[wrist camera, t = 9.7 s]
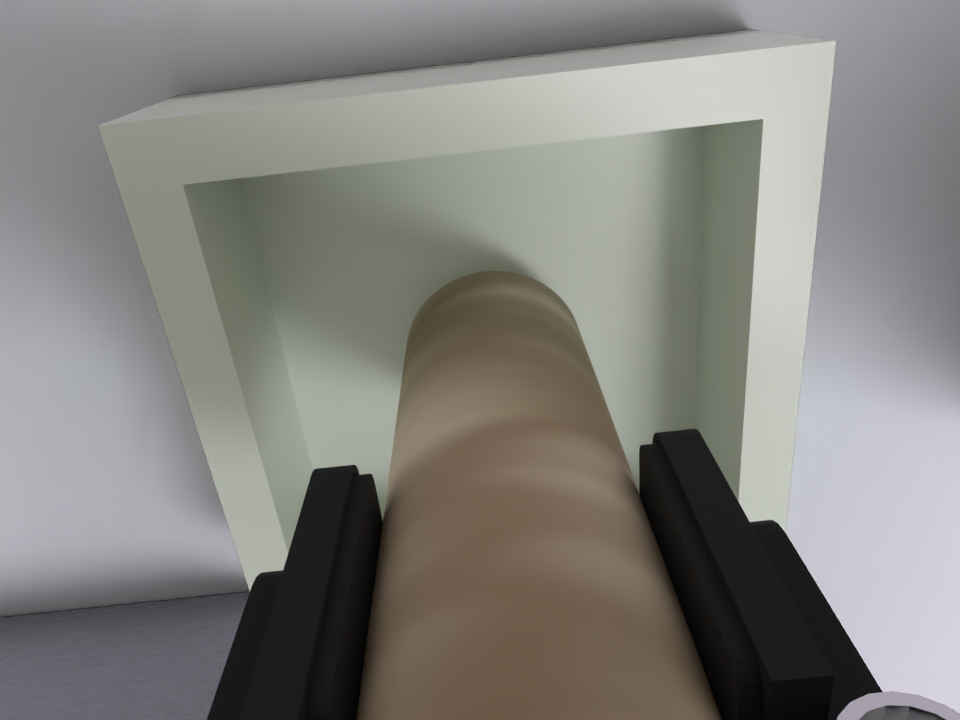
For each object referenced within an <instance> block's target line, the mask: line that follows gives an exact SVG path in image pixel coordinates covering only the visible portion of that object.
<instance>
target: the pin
mask: <svg viewBox="0 0 960 720" xmlns="http://www.w3.org/2000/svg"><path fill="white" fill-rule="evenodd" d="M356 720H722V717H721V714H720V712H719V709H718V706H717V704H716V701H715V698H714V695H713V693H712V690H711V687H710V685H709V682H708V679H707V676H706V674H705V671H704V668H703V665H702V663H701V660H700V657H699V655H698V652H697V649H696V646H695V644H694V641H693V638H692V636H691V633H690V630H689V627H688V625H687V622H686V619H685V617H684V614H683V611H682V608H681V606H680V603H679V600H678V598H677V595H676V592H675V589H674V587H673V584H672V581H671V578H670V576H669V573H668V570H667V568H666V565H665V562H664V559H663V557H662V554H661V551H660V549H659V546H658V543H657V540H656V538H655V535H654V532H653V530H652V527H651V524H650V521H649V519H648V516H647V513H646V511H645V508H644V505H643V502H642V500H641V497H640V494H639V491H638V488H637V486H636V483H635V480H634V477H633V475H632V472H631V469H630V467H629V464H628V461H627V458H626V456H625V453H624V450H623V448H622V445H621V442H620V439H619V437H618V434H617V431H616V429H615V426H614V423H613V420H612V418H611V415H610V412H609V410H608V407H607V404H606V401H605V399H604V396H603V393H602V391H601V388H600V385H599V382H598V380H597V377H596V374H595V372H594V369H593V366H592V363H591V361H590V358H589V355H588V353H587V350H586V347H585V344H584V342H583V339H582V336H581V334H580V331H579V328H578V325H577V323H576V321H575V318H574V316H573V314H572V312H571V311H570V309H569V308H568V306H567V305H566V303H565V302H564V301H563V300H562V299H561V298H560V297H559V296H558V295H557V294H556V293H555V292H554V291H553V290H552V289H550V288H549V287H547V286H546V285H544V284H543V283H541V282H539V281H537V280H535V279H533V278H530V277H527V276H524V275H521V274H517V273H512V272H504V271H485V272H479V273H474V274H470V275H467V276H464V277H461V278H459V279H456V280H454V281H452V282H450V283H448V284H447V285H445V286H443V287H442V288H440V289H439V290H438V291H437V292H435V293H434V294H433V295H432V296H431V297H430V298H429V299H428V300H427V301H426V302H425V303H424V304H423V306H422V307H421V308H420V310H419V311H418V313H417V315H416V316H415V318H414V320H413V322H412V325H411V328H410V331H409V334H408V339H407V345H406V352H405V360H404V367H403V374H402V382H401V389H400V397H399V404H398V411H397V419H396V426H395V434H394V441H393V448H392V456H391V463H390V471H389V478H388V485H387V493H386V500H385V508H384V515H383V523H382V531H381V538H380V546H379V553H378V561H377V568H376V575H375V583H374V590H373V598H372V605H371V613H370V620H369V627H368V635H367V642H366V650H365V657H364V665H363V672H362V679H361V687H360V694H359V702H358V709H357V717H356Z"/></svg>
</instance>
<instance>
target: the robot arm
mask: <svg viewBox="0 0 960 720" xmlns="http://www.w3.org/2000/svg"><path fill="white" fill-rule="evenodd" d="M639 492H640V497H641V500H642V502H643V505H644V508H645V511H646V513H647V516H648V519H649V521H650V524H651V527H652V530H653V532H654V535H655V538H656V540H657V543H658V546H659V549H660V551H661V554H662V557H663V559H664V562H665V565H666V568H667V570H668V573H669V576H670V578H671V581H672V584H673V587H674V589H675V592H676V595H677V598H678V600H679V603H680V606H681V608H682V611H683V614H684V617H685V619H686V622H687V625H688V627H689V630H690V633H691V636H692V638H693V641H694V644H695V646H696V649H697V652H698V655H699V657H700V660H701V663H702V665H703V668H704V671H705V674H706V676H707V679H708V682H709V685H710V687H711V690H712V693H713V695H714V698H715V701H716V704H717V706H718V709H719V712H720V714H721V717H722V720H960V714H959V713H958V712H956V711H954V710H953V709H951V708H949V707H948V706H946V705H944V704H941V703H938V702H935V701H933V700H930V699H927V698H924V697H922V696H919V695H914V694H907V693H900V692H893V691H890V692H882V690H881V689H880V687H879V686H878V684H877V682H876V681H875V679H874V677H873V676H872V674H871V672H870V671H869V669H868V668H867V666H866V664H865V663H864V661H863V659H862V658H861V656H860V654H859V653H858V651H857V649H856V648H855V646H854V645H853V643H852V641H851V640H850V638H849V636H848V635H847V633H846V631H845V630H844V628H843V627H842V625H841V623H840V622H839V620H838V618H837V617H836V615H835V613H834V612H833V610H832V609H831V607H830V605H829V604H828V602H827V600H826V599H825V597H824V595H823V594H822V592H821V591H820V589H819V587H818V586H817V584H816V582H815V581H814V579H813V577H812V576H811V574H810V572H809V571H808V569H807V568H806V566H805V564H804V563H803V561H802V559H801V558H800V556H799V554H798V553H797V551H796V550H795V548H794V546H793V545H792V543H791V541H790V540H789V538H788V536H787V535H786V533H785V532H784V530H783V529H782V528H781V526H780V525H779V524H778V523H777V522H775V521H773V520H765V521H755V522H749V520H748V518H747V516H746V514H745V513H744V511H743V509H742V507H741V505H740V504H739V502H738V500H737V498H736V496H735V495H734V493H733V491H732V489H731V487H730V486H729V484H728V482H727V480H726V478H725V477H724V475H723V473H722V471H721V469H720V468H719V466H718V464H717V462H716V460H715V459H714V457H713V455H712V453H711V451H710V450H709V448H708V446H707V444H706V442H705V441H704V439H703V437H702V435H701V433H700V432H699V431H698V429H686V430H676V431H667V432H657V433H655V434H654V436H653V442H652V444H646V445H641V446H640V449H639ZM382 523H383V520H382V515H381V510H380V506H379V501H378V496H377V491H376V486H375V482H374V478H373V476H372V474H362V475H360V474H359V471H358V468H357V466H356V465H346V466H336V467H327V468H317V469H314V470H313V472H312V474H311V477H310V481H309V484H308V488H307V491H306V494H305V498H304V501H303V505H302V508H301V511H300V515H299V518H298V522H297V525H296V528H295V532H294V535H293V539H292V542H291V545H290V549H289V552H288V556H287V559H286V562H285V566H284V569H283V570H281V571H271V572H262V573H260V574H259V575H258V576H257V577H256V578H255V581H254V583H253V585H252V587H251V590H250V593H249V596H248V599H247V602H246V605H245V608H244V611H243V614H242V617H241V620H240V623H239V626H238V629H237V632H236V634H235V637H234V640H233V643H232V646H231V649H230V652H229V655H228V658H227V661H226V664H225V667H224V670H223V673H222V676H221V679H220V682H219V685H218V688H217V691H216V694H215V696H214V699H213V702H212V705H211V708H210V711H209V714H208V717H207V720H356V717H357V709H358V702H359V694H360V687H361V679H362V672H363V665H364V657H365V650H366V642H367V635H368V627H369V620H370V613H371V605H372V598H373V590H374V583H375V575H376V568H377V561H378V553H379V546H380V538H381V531H382Z"/></svg>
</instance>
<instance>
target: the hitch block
mask: <svg viewBox="0 0 960 720" xmlns="http://www.w3.org/2000/svg"><path fill="white" fill-rule="evenodd" d="M249 593H250V592H243V593H234V594H224V595H214V596H205V597H195V598H185V599H175V600H166V601H156V602H146V603H137V604H127V605H117V606H107V607H98V608H88V609H78V610H69V611H59V612H49V613H39V614H30V615H20V616H10V617H1V618H0V720H207V717H208V714H209V711H210V708H211V705H212V702H213V699H214V696H215V694H216V691H217V688H218V685H219V682H220V679H221V676H222V673H223V670H224V667H225V664H226V661H227V658H228V655H229V652H230V649H231V646H232V643H233V640H234V637H235V634H236V632H237V629H238V626H239V623H240V620H241V617H242V614H243V611H244V608H245V605H246V602H247V599H248V596H249Z"/></svg>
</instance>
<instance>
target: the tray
mask: <svg viewBox="0 0 960 720" xmlns="http://www.w3.org/2000/svg"><path fill="white" fill-rule="evenodd" d="M835 49H836V41H835V40H828V39H820V38H812V37H805V36H797V35H790V34H782V33H774V32H767V31H759V30H751V29H749V30H741V31H732V32H724V33H715V34H706V35H698V36H689V37H680V38H672V39H663V40H654V41H646V42H637V43H628V44H620V45H611V46H602V47H594V48H585V49H577V50H568V51H559V52H551V53H542V54H533V55H525V56H516V57H507V58H499V59H490V60H481V61H473V62H464V63H455V64H447V65H438V66H430V67H421V68H412V69H404V70H395V71H386V72H378V73H369V74H360V75H352V76H343V77H334V78H326V79H317V80H308V81H300V82H291V83H283V84H274V85H265V86H257V87H248V88H239V89H231V90H222V91H213V92H205V93H196V94H187V95H179V96H174V97H172V98H169V99H167V100H164V101H161V102H159V103H156V104H153V105H151V106H148V107H145V108H143V109H140V110H138V111H135V112H132V113H130V114H127V115H124V116H122V117H119V118H117V119H114V120H111V121H109V122H106V123H103V124H101V125H98V128H99V131H100V134H101V138H102V141H103V144H104V147H105V150H106V153H107V156H108V159H109V162H110V165H111V168H112V171H113V174H114V177H115V180H116V183H117V187H118V190H119V193H120V196H121V199H122V202H123V205H124V208H125V211H126V214H127V217H128V220H129V223H130V226H131V229H132V232H133V236H134V239H135V242H136V245H137V248H138V251H139V254H140V257H141V260H142V263H143V266H144V269H145V272H146V275H147V278H148V281H149V285H150V288H151V291H152V294H153V297H154V300H155V303H156V306H157V309H158V312H159V315H160V318H161V321H162V324H163V327H164V331H165V334H166V337H167V340H168V343H169V346H170V349H171V352H172V355H173V358H174V361H175V364H176V367H177V370H178V373H179V376H180V380H181V383H182V386H183V389H184V392H185V395H186V398H187V401H188V404H189V407H190V410H191V413H192V416H193V419H194V422H195V425H196V429H197V432H198V435H199V438H200V441H201V444H202V447H203V450H204V453H205V456H206V459H207V462H208V465H209V468H210V471H211V474H212V478H213V481H214V484H215V487H216V490H217V493H218V496H219V499H220V502H221V505H222V508H223V511H224V514H225V517H226V520H227V523H228V527H229V530H230V533H231V536H232V539H233V542H234V545H235V548H236V551H237V554H238V557H239V560H240V563H241V566H242V569H243V572H244V576H245V579H246V582H247V585H248V588H249V591H250V590H251V587H252V585H253V583H254V581H255V578H256V577H257V576H258V575H259V574H260V573H262V572H271V571H281V570H283V569H284V566H285V562H286V559H287V556H288V552H289V549H290V545H291V542H292V539H293V535H294V532H295V528H296V525H297V522H298V518H299V515H300V511H301V508H302V505H303V501H304V498H305V494H306V491H307V488H308V484H309V481H310V477H311V474H312V472H313V470H314V469H317V468H327V467H336V466H346V465H356V466H357V468H358V471H359V474H360V475H362V474H372V476H373V478H374V482H375V486H376V491H377V496H378V501H379V506H380V510H381V515H382V520H383V515H384V508H385V500H386V493H387V485H388V478H389V471H390V463H391V456H392V448H393V441H394V434H395V426H396V419H397V411H398V404H399V397H400V389H401V382H402V374H403V367H404V360H405V352H406V345H407V339H408V334H409V331H410V328H411V325H412V322H413V320H414V318H415V316H416V315H417V313H418V311H419V310H420V308H421V307H422V306H423V304H424V303H425V302H426V301H427V300H428V299H429V298H430V297H431V296H432V295H433V294H434V293H435V292H437V291H438V290H439V289H440V288H442V287H443V286H445V285H447V284H448V283H450V282H452V281H454V280H456V279H459V278H461V277H464V276H467V275H470V274H474V273H479V272H485V271H504V272H512V273H517V274H521V275H524V276H527V277H530V278H533V279H535V280H537V281H539V282H541V283H543V284H544V285H546V286H547V287H549V288H550V289H552V290H553V291H554V292H555V293H556V294H557V295H558V296H559V297H560V298H561V299H562V300H563V301H564V302H565V303H566V305H567V306H568V308H569V309H570V311H571V312H572V314H573V316H574V318H575V321H576V323H577V325H578V328H579V331H580V334H581V336H582V339H583V342H584V344H585V347H586V350H587V353H588V355H589V358H590V361H591V363H592V366H593V369H594V372H595V374H596V377H597V380H598V382H599V385H600V388H601V391H602V393H603V396H604V399H605V401H606V404H607V407H608V410H609V412H610V415H611V418H612V420H613V423H614V426H615V429H616V431H617V434H618V437H619V439H620V442H621V445H622V448H623V450H624V453H625V456H626V458H627V461H628V464H629V467H630V469H631V472H632V475H633V477H634V480H635V483H636V486H637V488H638V491H639V449H640V446H641V445H646V444H652V442H653V436H654V434H655V433H657V432H667V431H676V430H686V429H698V431H699V432H700V433H701V435H702V437H703V439H704V441H705V442H706V444H707V446H708V448H709V450H710V451H711V453H712V455H713V457H714V459H715V460H716V462H717V464H718V466H719V468H720V469H721V471H722V473H723V475H724V477H725V478H726V480H727V482H728V484H729V486H730V487H731V489H732V491H733V493H734V495H735V496H736V498H737V500H738V502H739V504H740V505H741V507H742V509H743V511H744V513H745V514H746V516H747V518H748V520H749V522H755V521H765V520H773V521H775V522H777V523H778V524H779V525H780V526H781V528H782V529H783V530H784V532H786V522H787V513H788V503H789V493H790V484H791V474H792V464H793V455H794V445H795V435H796V426H797V416H798V406H799V397H800V387H801V377H802V368H803V358H804V348H805V339H806V329H807V319H808V310H809V300H810V290H811V281H812V271H813V261H814V252H815V242H816V232H817V223H818V213H819V203H820V194H821V184H822V174H823V165H824V155H825V145H826V136H827V126H828V116H829V107H830V97H831V87H832V78H833V68H834V58H835ZM639 494H640V492H639Z"/></svg>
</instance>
